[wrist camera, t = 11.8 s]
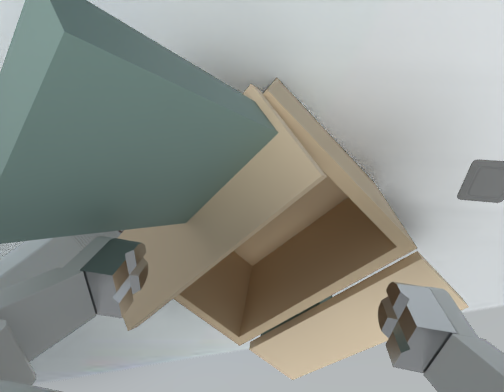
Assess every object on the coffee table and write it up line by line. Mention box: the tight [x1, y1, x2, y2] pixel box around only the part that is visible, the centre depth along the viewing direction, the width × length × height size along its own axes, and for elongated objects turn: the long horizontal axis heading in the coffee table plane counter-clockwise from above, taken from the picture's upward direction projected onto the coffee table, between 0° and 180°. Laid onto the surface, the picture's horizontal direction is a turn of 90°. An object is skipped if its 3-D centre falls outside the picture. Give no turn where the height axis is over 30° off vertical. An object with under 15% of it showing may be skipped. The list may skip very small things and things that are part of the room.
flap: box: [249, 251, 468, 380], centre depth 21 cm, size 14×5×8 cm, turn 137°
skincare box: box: [0, 230, 124, 290], centre depth 21 cm, size 6×4×12 cm
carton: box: [173, 78, 417, 346], centre depth 19 cm, size 14×11×8 cm
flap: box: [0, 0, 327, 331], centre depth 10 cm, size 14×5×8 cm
